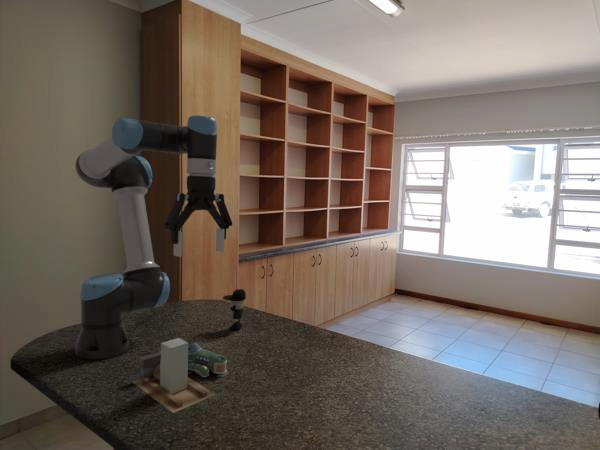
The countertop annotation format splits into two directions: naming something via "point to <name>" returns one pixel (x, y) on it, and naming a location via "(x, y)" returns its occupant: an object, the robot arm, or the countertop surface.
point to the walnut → (157, 373)
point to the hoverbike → (205, 361)
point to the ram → (174, 365)
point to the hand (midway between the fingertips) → (199, 253)
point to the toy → (236, 307)
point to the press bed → (170, 401)
